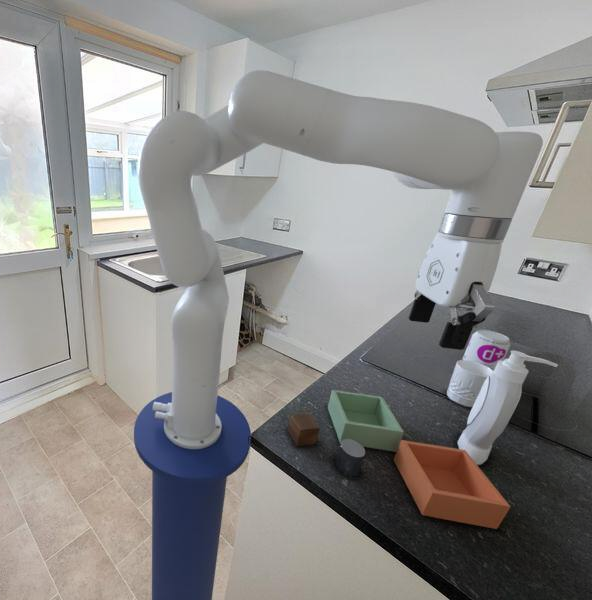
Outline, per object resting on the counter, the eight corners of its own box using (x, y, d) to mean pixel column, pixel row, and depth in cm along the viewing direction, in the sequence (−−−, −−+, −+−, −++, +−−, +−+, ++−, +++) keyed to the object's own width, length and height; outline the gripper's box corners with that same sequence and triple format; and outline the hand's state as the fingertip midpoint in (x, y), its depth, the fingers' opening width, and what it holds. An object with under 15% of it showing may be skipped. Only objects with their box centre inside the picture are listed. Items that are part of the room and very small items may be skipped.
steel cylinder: (338, 473, 61) (344, 454, 59) (332, 455, 65) (338, 437, 63) (362, 478, 60) (368, 458, 58) (355, 459, 64) (361, 440, 62)
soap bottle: (505, 483, 60) (565, 378, 52) (455, 460, 65) (502, 360, 56) (501, 445, 70) (552, 351, 61) (458, 427, 74) (499, 337, 65)
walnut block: (296, 446, 67) (300, 429, 65) (287, 430, 71) (290, 414, 69) (315, 444, 67) (320, 427, 66) (305, 428, 72) (309, 413, 70)
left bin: (339, 442, 68) (345, 423, 66) (327, 407, 79) (332, 389, 77) (396, 452, 66) (404, 432, 64) (376, 414, 77) (382, 396, 75)
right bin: (422, 515, 54) (432, 492, 52) (393, 460, 64) (401, 439, 62) (497, 529, 52) (510, 506, 50) (455, 470, 63) (464, 449, 61)
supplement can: (494, 390, 89) (516, 344, 84) (458, 380, 93) (477, 336, 88) (487, 377, 96) (507, 333, 90) (454, 368, 100) (471, 326, 94)
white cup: (449, 386, 90) (462, 357, 86) (484, 402, 84) (499, 371, 80) (439, 396, 86) (452, 364, 82) (475, 413, 80) (490, 380, 76)
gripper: (414, 220, 54) (387, 311, 60) (484, 236, 38) (437, 357, 44) (462, 223, 53) (429, 315, 59) (555, 241, 37) (497, 364, 43)
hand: (433, 333), depth 51 cm, fingers open, 9 cm apart
